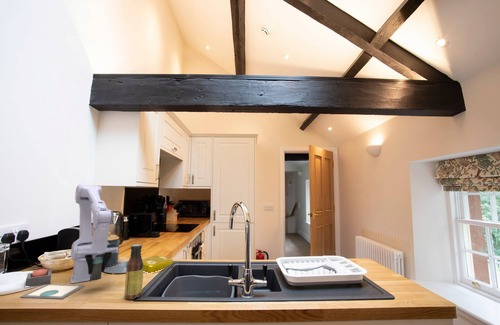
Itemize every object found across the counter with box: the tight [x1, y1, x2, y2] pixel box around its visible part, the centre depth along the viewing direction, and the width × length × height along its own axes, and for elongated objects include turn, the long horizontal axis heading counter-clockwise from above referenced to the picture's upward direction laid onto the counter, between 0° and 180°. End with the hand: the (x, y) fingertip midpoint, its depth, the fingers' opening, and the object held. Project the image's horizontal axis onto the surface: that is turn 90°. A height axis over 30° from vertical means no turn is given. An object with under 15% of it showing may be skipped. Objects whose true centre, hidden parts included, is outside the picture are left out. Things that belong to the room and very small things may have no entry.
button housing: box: [24, 269, 53, 287], centre depth 100 cm, size 8×8×4 cm
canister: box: [95, 231, 121, 267], centre depth 129 cm, size 13×13×18 cm
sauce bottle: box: [123, 243, 144, 300], centre depth 92 cm, size 7×6×20 cm
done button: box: [31, 268, 48, 277], centre depth 101 cm, size 5×5×3 cm
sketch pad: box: [19, 283, 86, 300], centre depth 92 cm, size 16×12×1 cm
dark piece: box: [89, 257, 103, 281], centre depth 96 cm, size 4×4×8 cm
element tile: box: [142, 255, 174, 273], centre depth 125 cm, size 15×15×5 cm
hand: (96, 272), depth 96 cm, fingers closed on dark piece, 4 cm apart
